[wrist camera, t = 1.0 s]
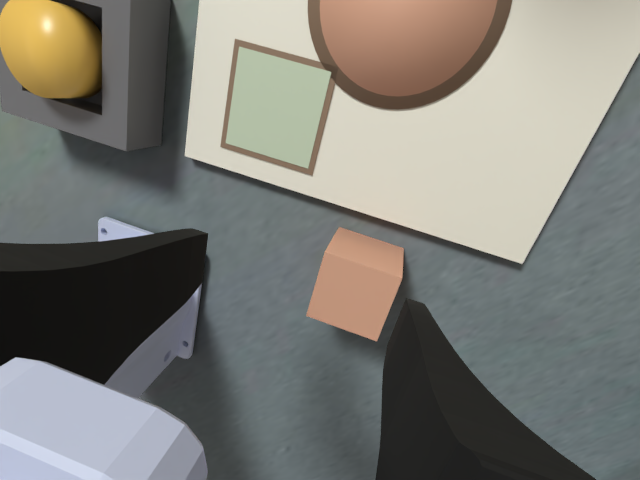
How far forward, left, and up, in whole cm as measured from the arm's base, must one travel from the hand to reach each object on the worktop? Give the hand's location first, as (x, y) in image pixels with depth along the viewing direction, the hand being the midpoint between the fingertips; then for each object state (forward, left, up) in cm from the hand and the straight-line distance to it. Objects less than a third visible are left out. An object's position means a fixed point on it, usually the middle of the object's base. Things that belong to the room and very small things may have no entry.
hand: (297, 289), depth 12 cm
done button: (+4, +16, -7) cm, 18 cm away
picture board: (+8, 0, -10) cm, 12 cm away
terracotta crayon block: (-3, -2, -10) cm, 10 cm away
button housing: (+5, +16, -10) cm, 19 cm away
